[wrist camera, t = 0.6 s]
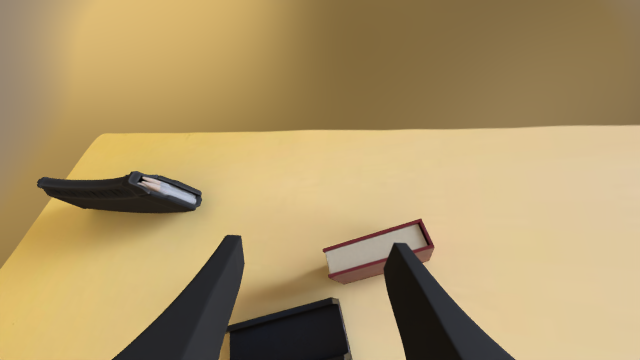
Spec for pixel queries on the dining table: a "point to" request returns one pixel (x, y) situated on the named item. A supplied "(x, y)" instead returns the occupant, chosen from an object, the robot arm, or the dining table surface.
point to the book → (375, 251)
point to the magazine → (125, 193)
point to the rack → (293, 334)
